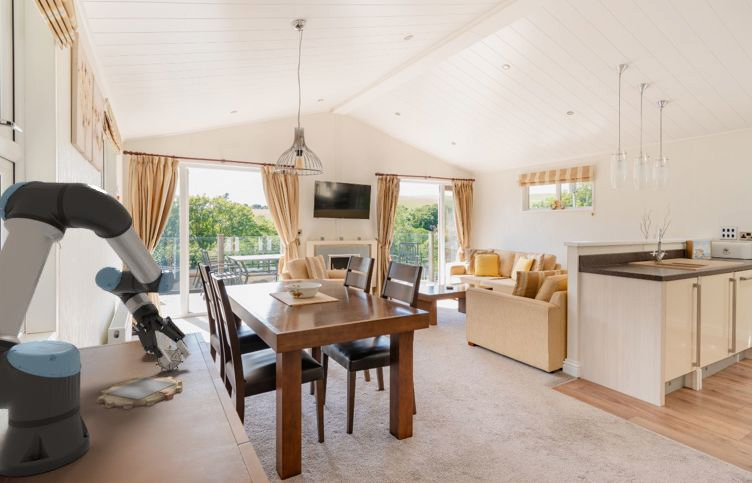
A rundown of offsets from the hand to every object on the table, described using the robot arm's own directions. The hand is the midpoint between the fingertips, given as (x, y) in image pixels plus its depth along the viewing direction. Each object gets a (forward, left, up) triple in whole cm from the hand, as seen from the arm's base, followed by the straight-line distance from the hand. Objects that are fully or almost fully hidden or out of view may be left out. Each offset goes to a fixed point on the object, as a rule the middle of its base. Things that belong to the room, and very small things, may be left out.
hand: (178, 360), depth 136 cm
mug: (+14, +23, -4) cm, 27 cm away
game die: (-1, +3, -4) cm, 5 cm away
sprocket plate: (-18, -5, -4) cm, 19 cm away
